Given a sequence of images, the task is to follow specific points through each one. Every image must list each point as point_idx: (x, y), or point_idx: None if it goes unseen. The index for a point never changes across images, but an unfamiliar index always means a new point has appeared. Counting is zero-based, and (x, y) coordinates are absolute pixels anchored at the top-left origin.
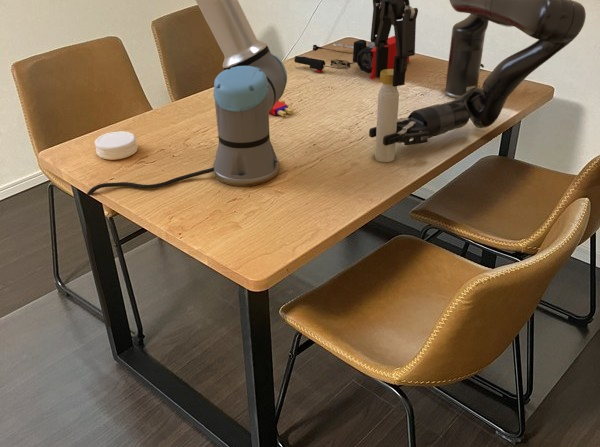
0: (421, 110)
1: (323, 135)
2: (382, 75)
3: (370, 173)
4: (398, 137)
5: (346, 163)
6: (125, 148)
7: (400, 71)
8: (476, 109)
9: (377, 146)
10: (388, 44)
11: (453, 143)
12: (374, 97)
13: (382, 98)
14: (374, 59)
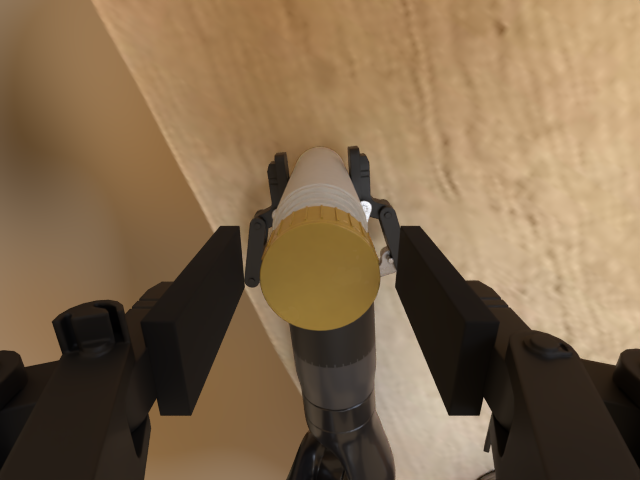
0: (331, 331)
1: (536, 93)
2: (316, 219)
3: (258, 86)
4: (272, 201)
5: (341, 55)
6: None
7: (157, 285)
8: (326, 454)
9: (318, 151)
10: (486, 443)
11: None
12: (632, 346)
13: (302, 185)
14: None
